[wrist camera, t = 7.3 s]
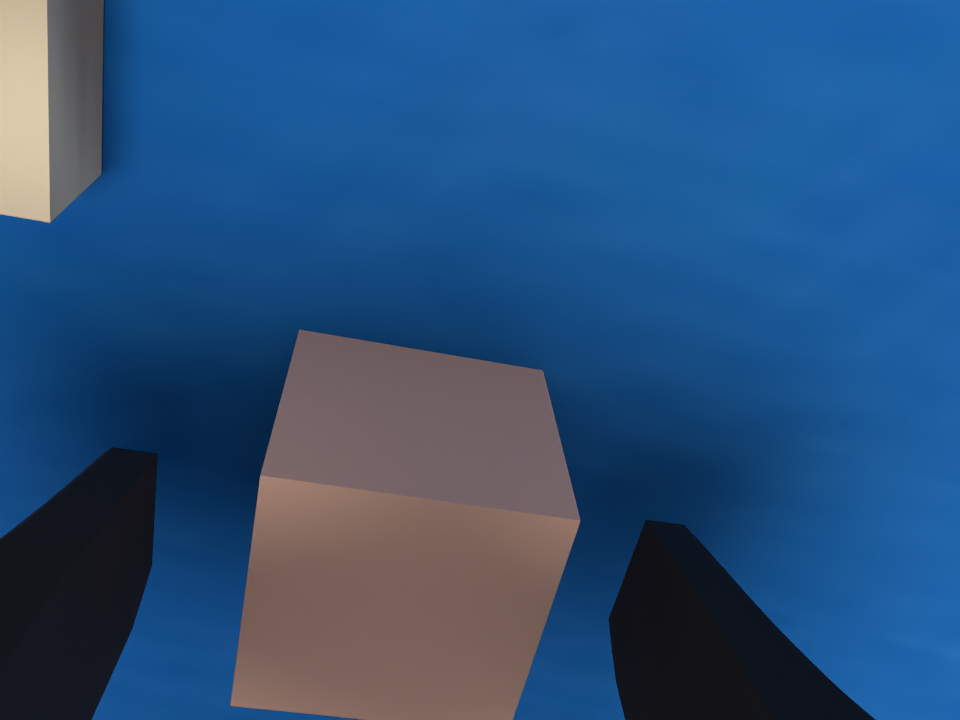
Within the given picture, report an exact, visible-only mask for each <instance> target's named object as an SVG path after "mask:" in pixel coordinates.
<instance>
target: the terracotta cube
mask: <svg viewBox="0 0 960 720" xmlns="http://www.w3.org/2000/svg"><path fill="white" fill-rule="evenodd" d="M580 521H581V520H580V516H579V512H578V508H577V504H576V500H575V496H574V492H573V488H572V484H571V480H570V476H569V472H568V468H567V464H566V460H565V456H564V452H563V448H562V444H561V440H560V436H559V432H558V428H557V424H556V420H555V416H554V412H553V408H552V404H551V400H550V396H549V392H548V388H547V384H546V380H545V376H544V372H543V370H538V369H532V368H526V367H520V366H514V365H508V364H502V363H496V362H490V361H484V360H478V359H472V358H466V357H460V356H454V355H448V354H442V353H436V352H430V351H424V350H418V349H413V348H407V347H401V346H395V345H389V344H383V343H377V342H371V341H365V340H359V339H353V338H347V337H341V336H335V335H329V334H323V333H317V332H311V331H305V330H299V332H298V336H297V340H296V344H295V347H294V351H293V355H292V359H291V362H290V366H289V370H288V374H287V377H286V381H285V385H284V389H283V392H282V396H281V400H280V403H279V407H278V411H277V415H276V418H275V422H274V426H273V430H272V433H271V437H270V441H269V445H268V448H267V452H266V456H265V460H264V463H263V467H262V471H261V475H260V481H259V489H258V497H257V505H256V512H255V520H254V528H253V535H252V543H251V551H250V559H249V566H248V574H247V582H246V589H245V597H244V605H243V613H242V620H241V628H240V636H239V643H238V651H237V659H236V666H235V674H234V682H233V690H232V697H231V705H230V706H236V707H246V708H256V709H266V710H276V711H285V712H295V713H305V714H315V715H325V716H334V717H344V718H354V719H364V720H513V717H514V714H515V711H516V708H517V706H518V703H519V700H520V697H521V694H522V691H523V688H524V685H525V682H526V679H527V676H528V673H529V670H530V667H531V665H532V662H533V659H534V656H535V653H536V650H537V647H538V644H539V641H540V638H541V635H542V632H543V629H544V626H545V624H546V621H547V618H548V615H549V612H550V609H551V606H552V603H553V600H554V597H555V594H556V591H557V588H558V585H559V583H560V580H561V577H562V574H563V571H564V568H565V565H566V562H567V559H568V556H569V553H570V550H571V547H572V544H573V542H574V539H575V536H576V533H577V530H578V527H579V524H580Z"/></svg>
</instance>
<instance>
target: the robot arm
mask: <svg viewBox="0 0 960 720" xmlns="http://www.w3.org/2000/svg"><path fill="white" fill-rule="evenodd" d="M156 473H157V453H150V452H142V451H135V450H128V449H120V448H113V447H112V448H111V449H109V450H108V451H106V452H105V453H103V454H102V455H101V456H100V457H99V458H98V459H97V460H95V461H94V462H93V463H92V464H91V465H90V466H88V467H87V468H86V469H85V470H84V471H83V472H82V473H80V474H79V475H78V476H77V477H76V478H75V479H74V480H72V481H71V482H70V483H69V484H68V485H67V486H65V487H64V488H63V489H62V490H61V491H59V492H58V493H57V494H56V495H55V496H53V497H52V498H51V499H50V500H49V501H47V502H46V503H45V504H44V505H43V506H41V507H40V508H39V509H37V510H36V511H35V512H34V513H32V514H31V515H30V516H29V517H27V518H26V519H25V520H24V521H22V522H21V523H20V524H18V525H17V526H16V527H15V528H13V529H12V530H11V531H10V532H8V533H7V534H6V535H4V536H3V537H2V538H0V720H91V719H92V717H93V715H94V713H95V710H96V708H97V706H98V704H99V702H100V699H101V697H102V695H103V693H104V691H105V688H106V686H107V684H108V682H109V680H110V677H111V675H112V673H113V671H114V668H115V666H116V664H117V662H118V660H119V657H120V655H121V653H122V651H123V648H124V646H125V644H126V642H127V639H128V637H129V635H130V632H131V630H132V627H133V624H134V621H135V618H136V615H137V612H138V609H139V606H140V602H141V599H142V596H143V593H144V589H145V586H146V583H147V579H148V576H149V573H150V570H151V566H152V554H153V533H154V513H155V493H156ZM609 625H610V635H611V644H612V654H613V661H614V669H615V677H616V683H617V687H618V691H619V696H620V700H621V704H622V708H623V712H624V716H625V720H875V719H874V718H873V717H871V716H870V715H869V714H868V713H867V712H866V711H864V710H863V709H862V708H861V707H860V706H859V705H857V704H856V703H855V702H854V701H853V700H852V699H850V698H849V697H848V696H847V695H846V694H845V693H844V692H843V691H841V690H840V689H839V688H838V687H837V686H836V685H835V684H834V683H833V682H832V681H831V680H829V679H828V678H827V677H826V676H825V675H824V674H823V673H822V672H821V671H820V670H819V669H818V668H817V667H816V666H815V665H814V664H813V663H812V662H811V661H810V660H809V659H808V658H807V657H806V656H805V655H804V654H803V653H802V652H801V651H800V650H799V649H798V648H797V647H796V646H795V645H794V644H793V643H792V642H791V641H790V640H789V639H788V638H787V637H786V636H785V635H784V634H783V633H782V632H781V631H780V630H779V629H778V628H777V627H776V626H775V624H774V623H773V622H772V621H771V620H770V619H769V618H768V617H767V616H766V615H765V614H764V613H763V612H762V610H761V609H760V608H759V607H758V606H757V605H756V604H755V603H754V602H753V601H752V600H751V598H750V597H749V596H748V595H747V594H746V593H745V592H744V591H743V590H742V588H741V587H740V586H739V585H738V584H737V583H736V582H735V581H734V579H733V578H732V577H731V576H730V575H729V574H728V573H727V572H726V570H725V569H724V568H723V567H722V566H721V565H720V564H719V563H718V561H717V560H716V559H715V558H714V557H713V556H712V555H711V554H710V552H709V551H708V550H707V549H706V548H705V547H704V546H703V545H702V543H701V542H700V541H699V540H698V539H697V538H696V537H695V536H694V535H693V534H692V533H691V532H690V531H689V530H688V529H687V528H686V527H685V526H684V525H680V524H672V523H665V522H657V521H650V520H646V521H645V524H644V527H643V529H642V532H641V535H640V537H639V540H638V543H637V545H636V548H635V550H634V553H633V556H632V558H631V561H630V564H629V566H628V569H627V572H626V574H625V577H624V580H623V582H622V585H621V588H620V590H619V593H618V596H617V598H616V601H615V604H614V606H613V609H612V612H611V614H610V617H609Z"/></svg>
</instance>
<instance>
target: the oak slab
mask: <svg viewBox="0 0 960 720" xmlns="http://www.w3.org/2000/svg"><path fill="white" fill-rule="evenodd" d="M103 19H104V0H0V214H3V215H8V216H14V217H20V218H26V219H32V220H38V221H44V222H51V221H52V220H53V219H54V218H56V217H57V216H58V215H59V214H60V213H61V212H62V211H63V210H64V209H65V208H66V207H67V206H68V205H69V204H70V203H72V202H73V201H74V200H75V199H76V198H77V197H78V196H79V195H80V194H81V193H82V192H83V191H84V190H85V189H87V188H88V187H89V186H90V185H91V184H92V183H93V182H94V181H95V180H96V179H97V178H98V177H99V176H100V175H101V166H102V93H103Z"/></svg>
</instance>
